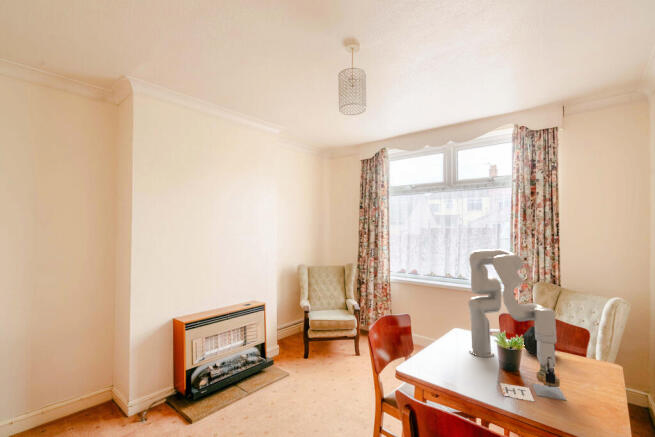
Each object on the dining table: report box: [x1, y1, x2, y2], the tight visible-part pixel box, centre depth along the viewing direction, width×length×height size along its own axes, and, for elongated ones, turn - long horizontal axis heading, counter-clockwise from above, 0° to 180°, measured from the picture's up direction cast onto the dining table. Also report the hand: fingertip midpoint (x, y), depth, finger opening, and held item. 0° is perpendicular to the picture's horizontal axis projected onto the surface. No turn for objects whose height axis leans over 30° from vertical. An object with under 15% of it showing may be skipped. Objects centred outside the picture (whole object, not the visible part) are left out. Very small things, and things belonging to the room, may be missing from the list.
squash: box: [522, 325, 556, 356], centre depth 167 cm, size 14×15×15 cm
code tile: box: [500, 382, 535, 402], centre depth 129 cm, size 11×11×1 cm
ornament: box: [536, 364, 561, 388], centre depth 128 cm, size 8×6×10 cm
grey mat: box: [531, 383, 568, 402], centre depth 128 cm, size 10×10×1 cm
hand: (547, 377), depth 128 cm, fingers closed on ornament, 8 cm apart
